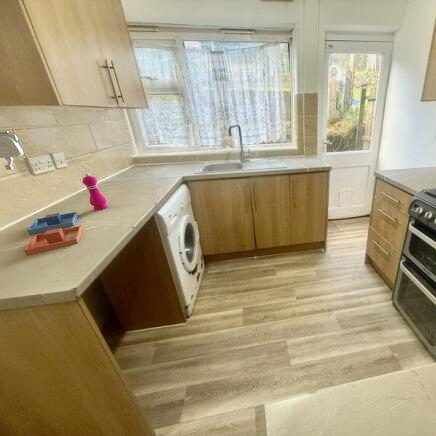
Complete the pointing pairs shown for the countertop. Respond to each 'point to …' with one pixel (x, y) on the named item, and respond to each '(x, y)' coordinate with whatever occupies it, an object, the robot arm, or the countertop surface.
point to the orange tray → (41, 244)
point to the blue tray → (42, 226)
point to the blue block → (53, 219)
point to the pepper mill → (94, 193)
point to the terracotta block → (54, 236)
